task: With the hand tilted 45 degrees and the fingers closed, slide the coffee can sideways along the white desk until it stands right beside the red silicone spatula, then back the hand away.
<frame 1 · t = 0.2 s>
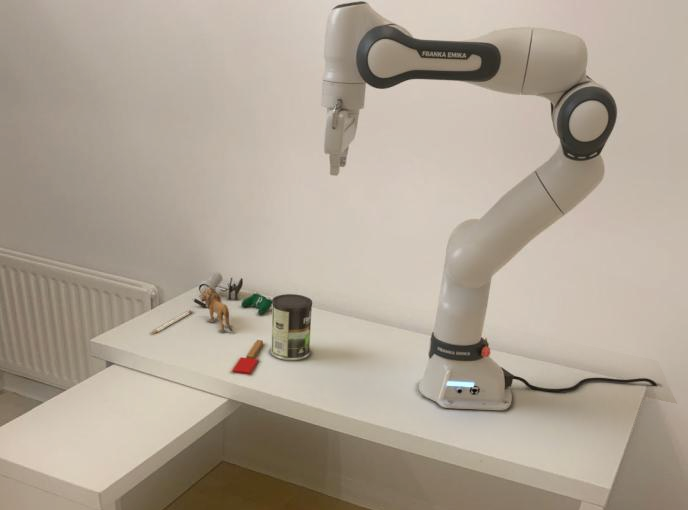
hand: (338, 170, 160), 48 cm above the table, tool pointing down, fingers open, 8 cm apart
gaming controller: (257, 309, 223), on the table
spatula: (251, 358, 194), on the table
pencil: (172, 323, 211), on the table
clip-on lamp: (216, 300, 228), on the table
lion figurine: (217, 324, 212), on the table
coffee can: (290, 353, 198), on the table
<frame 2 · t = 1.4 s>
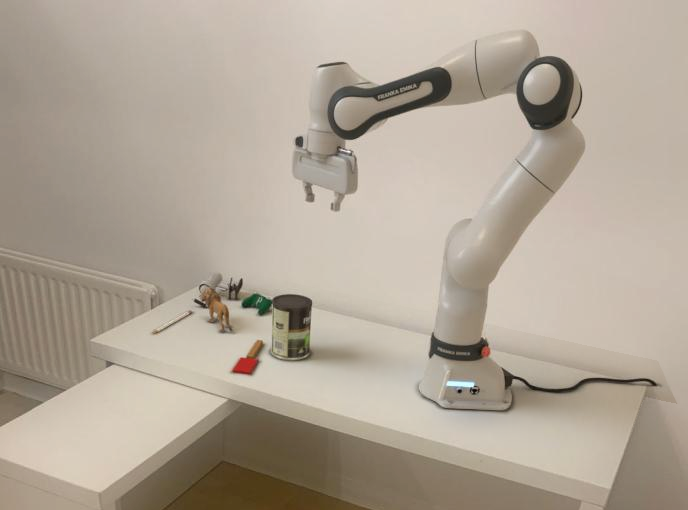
hand: (322, 206, 180), 36 cm above the table, tool pointing down, fingers open, 8 cm apart
nothing on the table moved.
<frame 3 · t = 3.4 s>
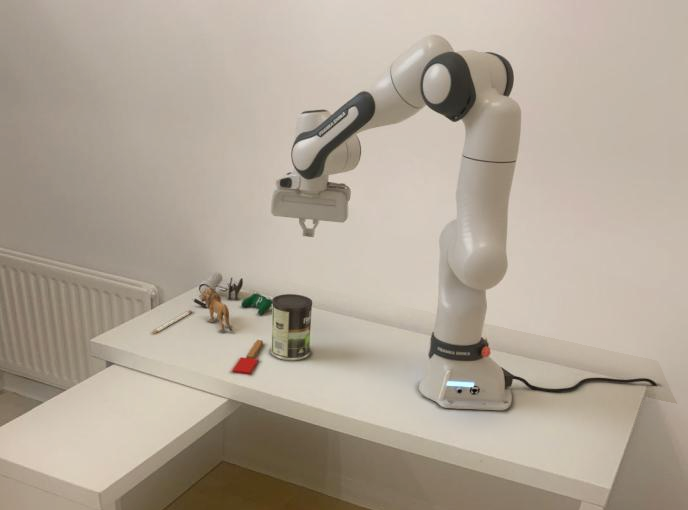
hand: (308, 236, 199), 25 cm above the table, tool pointing down, fingers closed
nothing on the table moved.
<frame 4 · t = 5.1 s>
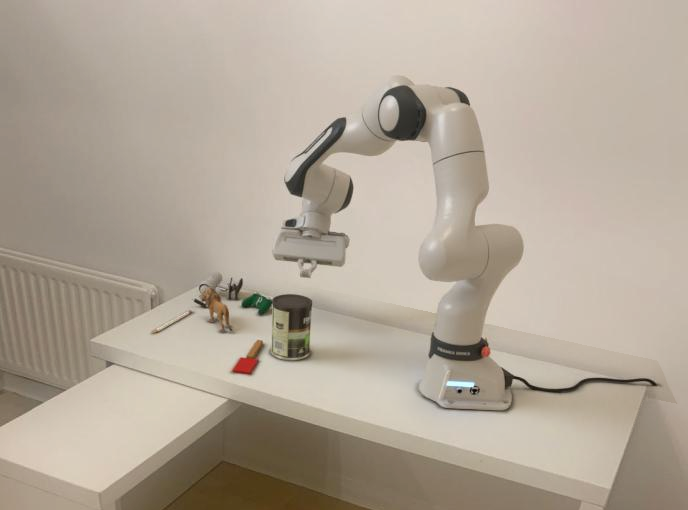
hand: (305, 276, 204), 15 cm above the table, tool tilted 45°, fingers closed
nothing on the table moved.
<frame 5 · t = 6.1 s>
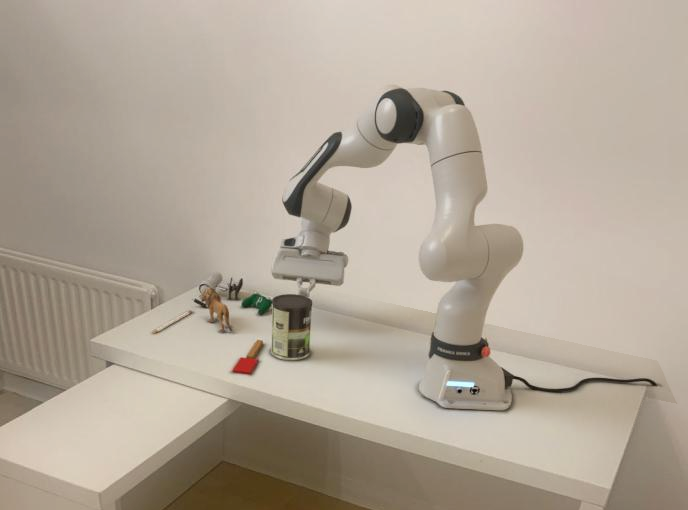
hand: (303, 295, 204), 10 cm above the table, tool tilted 45°, fingers closed
nothing on the table moved.
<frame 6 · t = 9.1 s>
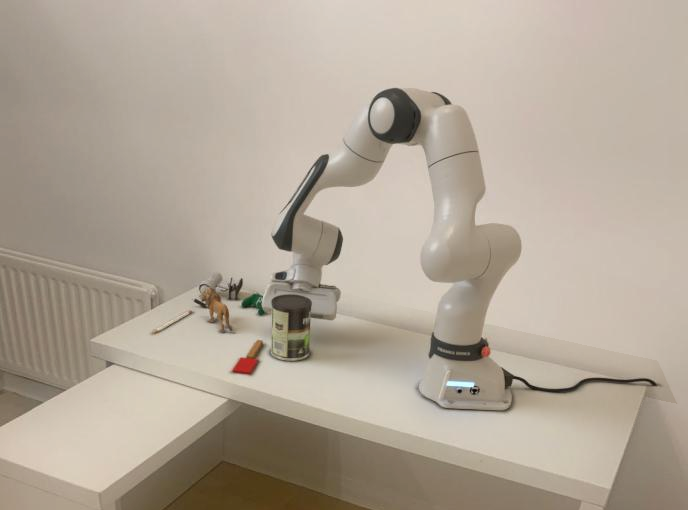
hand: (295, 330, 199), 4 cm above the table, tool tilted 45°, fingers closed
nothing on the table moved.
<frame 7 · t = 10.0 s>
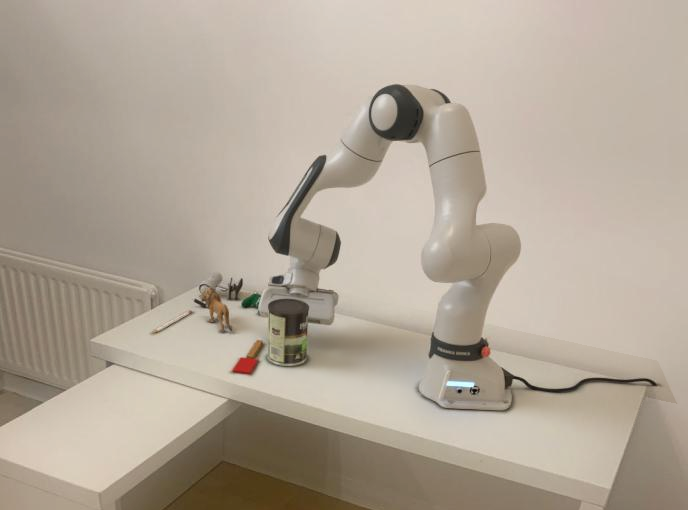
hand: (292, 335, 197), 4 cm above the table, tool tilted 45°, fingers closed, pressing on coffee can
coffee can: (286, 358, 195), on the table, touching gripper
everything else where it was.
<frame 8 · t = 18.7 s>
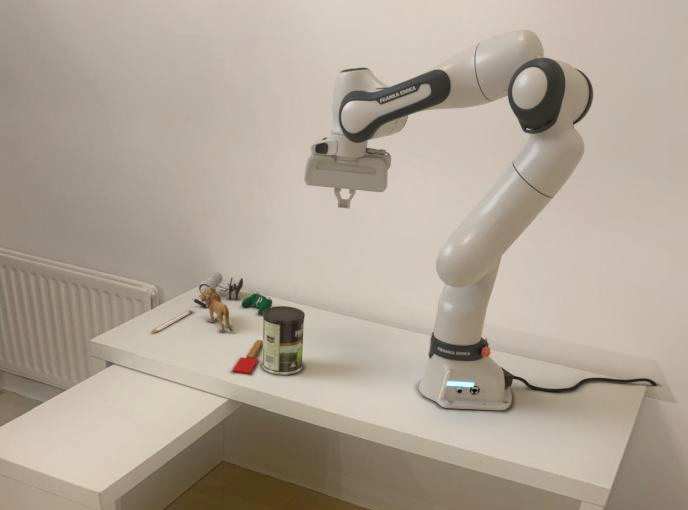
hand: (343, 207, 185), 35 cm above the table, tool pointing down, fingers closed
coffee can: (282, 367, 191), on the table
everything else where it was.
at the end: coffee can 0.9 cm from the target spot, on the table; coffee can tilted 0°; coffee can moved 9.1 cm from its start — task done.
